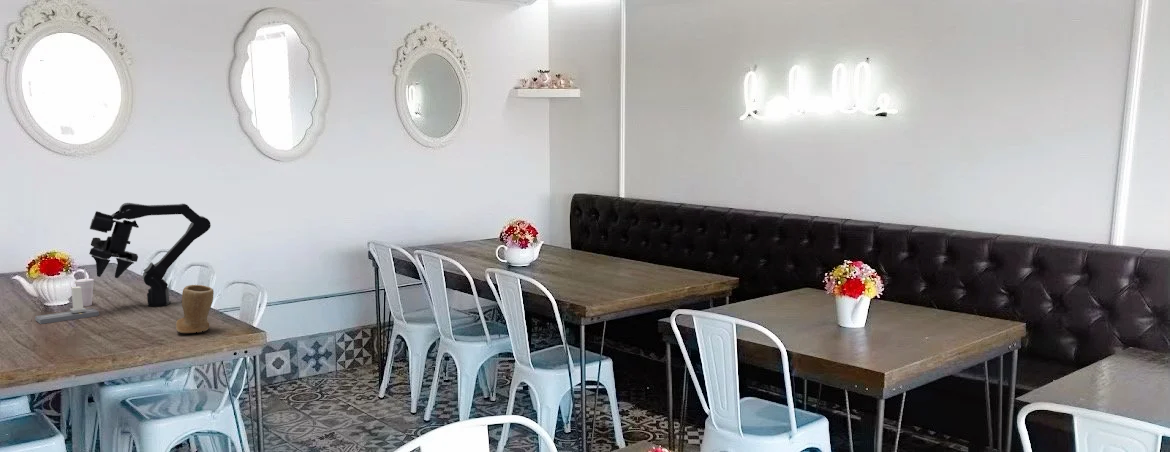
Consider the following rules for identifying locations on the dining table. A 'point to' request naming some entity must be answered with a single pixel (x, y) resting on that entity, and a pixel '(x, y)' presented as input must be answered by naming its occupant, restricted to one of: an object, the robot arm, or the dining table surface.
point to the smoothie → (86, 289)
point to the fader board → (65, 316)
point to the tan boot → (195, 309)
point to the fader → (77, 300)
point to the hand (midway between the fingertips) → (107, 277)
